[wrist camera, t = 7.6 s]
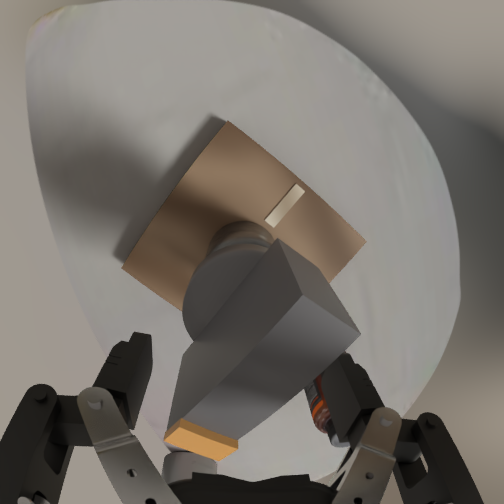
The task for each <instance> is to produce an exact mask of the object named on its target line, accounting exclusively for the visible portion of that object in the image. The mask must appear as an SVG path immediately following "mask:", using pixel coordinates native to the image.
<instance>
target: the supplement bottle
mask: <svg viewBox="0 0 504 504" xmlns="http://www.w3.org/2000/svg"><path fill="white" fill-rule="evenodd" d="M343 353H346V352H345V351H344V352H343ZM324 372H325V370H324V371H323V372H322V373H321V374H319V375H318V376H317V377H316V378H315V379H314V380H313V381H312V382H311V383H309V384H308V385H307V386H306V387H305V388H304V390H305V393H306V397H307V400H308V403H309V407H310V411H311V414H312V417H313V421H314V424H315V426H316V427H317V429H318V430H320V431H321V432H323V433H327V434H328V437H329V439H330V442H331V444H332V445H333V446H335V447H348V446H350V443H349V442H344V443H339V440H338V437H337V434H336V430H335V427H334V424H333V421H332V418H331V415H330V412H329V409H328V406H327V403H326V401H325V398H324V395H323V392H322V388H321V381H322V377H323V374H324Z"/></svg>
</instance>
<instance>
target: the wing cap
mask: <svg viewBox="0 0 504 504" xmlns="http://www.w3.org/2000/svg"><path fill="white" fill-rule="evenodd" d="M182 314H183V321H184V325H185V327H186V330H187V332H188V333H189V335H190V337H191V338H192V340H193V341H194V342H193V343H192V344H191V345H190V347H189V348H188V349H187V350H186V352H185V353H184V354H183V357H182V361H181V366H180V370H179V375H178V379H177V384H176V388H175V393H174V397H173V402H172V407H171V412H170V416H169V421H168V426H167V431H166V432H165V436H164V441H166V442H168V443H170V444H173V445H175V446H178V447H180V448H183V449H185V450H188V451H191V452H193V453H196V454H199V455H202V456H205V457H208V458H211V459H214V460H217V461H220V460H222V459H223V458H225V457H226V456H228V455H230V454H231V453H233V452H234V451H236V450H237V449H238V439H240V438H241V437H242V436H244V435H245V434H247V433H248V432H249V431H251V430H252V429H253V428H255V427H256V426H258V425H259V424H260V423H262V422H263V421H264V420H265V419H267V418H268V417H269V416H271V415H272V414H273V413H275V412H276V411H277V410H278V409H280V408H281V407H282V406H283V405H285V404H286V403H287V402H288V401H289V400H291V399H292V398H293V397H294V396H295V395H297V394H298V393H299V392H300V391H301V390H302V389H304V388H305V387H306V386H307V385H308V384H309V383H311V382H312V381H313V380H314V379H315V378H316V377H317V376H318V375H319V374H321V373H322V372H323V371H324V370H325V369H326V368H327V367H328V366H329V365H330V364H331V363H332V362H333V361H335V360H336V359H337V358H338V357H339V356H340V355H341V354H342V353H343V352H344V351H345V350H346V349H347V348H348V347H349V346H350V345H351V344H352V343H353V342H354V341H355V340H356V339H357V338H358V337H359V336H360V335H361V333H360V332H359V330H358V328H357V327H356V325H355V323H354V322H353V320H352V319H351V317H350V316H349V314H348V312H347V311H346V309H345V308H344V306H343V305H342V303H341V301H340V300H339V298H338V297H337V295H336V294H335V292H334V291H333V289H332V287H331V286H330V284H329V283H328V281H327V280H326V278H325V277H324V275H323V274H322V272H321V271H320V269H319V268H318V267H317V266H315V265H314V264H313V263H311V262H310V261H309V260H307V259H306V258H305V257H303V256H302V255H300V254H299V253H298V252H296V251H295V250H294V249H292V248H291V247H290V246H288V245H287V244H286V243H284V242H283V241H281V240H280V239H279V238H277V239H276V240H275V241H274V242H273V244H272V245H271V246H270V247H269V248H267V247H263V246H260V245H254V244H236V245H231V246H227V247H224V248H221V249H219V250H217V251H215V252H213V253H212V254H210V255H209V256H207V257H206V258H205V259H204V260H203V261H202V262H201V263H200V264H199V265H198V266H197V268H196V269H195V271H194V272H193V274H192V277H191V279H190V282H189V284H188V287H187V290H186V293H185V296H184V300H183V307H182Z"/></svg>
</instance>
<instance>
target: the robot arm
mask: <svg viewBox="0 0 504 504" xmlns="http://www.w3.org/2000/svg"><path fill="white" fill-rule="evenodd" d="M152 365H153V359H152V338H151V335H150V334H144V333H139V332H134V333H133V334H132V336H131V338H130V340H129V342H125V341H120V342H119V343H118V344H116V345H115V346H114V347H113V348H112V350H111V352H110V354H109V356H108V357H107V359H106V362H105V363H104V365H103V367H102V369H101V371H100V373H99V375H98V377H97V379H96V381H95V383H94V384H93V386H92V387H89V388H86V389H84V390H83V391H82V392H80V394H79V395H78V396H64V395H57V393H56V391H55V390H54V389H53V388H52V387H51V386H49V385H46V384H37V385H34V386H32V387H30V388H29V389H28V390H27V392H26V393H25V395H24V397H23V399H22V400H21V402H20V404H19V406H18V408H17V410H16V411H15V414H14V415H13V417H12V419H11V421H10V423H9V425H8V427H7V429H6V431H5V433H4V435H3V437H2V439H1V441H0V504H58V502H59V498H60V494H61V490H62V486H63V482H64V479H65V475H66V471H67V468H68V465H69V461H70V458H71V455H72V452H73V449H74V446H94V448H95V450H96V453H97V455H98V457H99V459H100V461H101V464H102V466H103V468H104V470H105V472H106V474H107V476H108V478H109V480H110V481H111V483H112V485H113V487H114V489H115V491H116V492H117V494H118V496H119V498H120V499H121V501H122V503H123V504H380V502H381V500H382V497H383V495H384V492H385V490H386V487H387V484H388V482H389V479H390V476H391V473H392V470H393V473H394V476H395V479H396V482H397V485H398V488H399V491H400V494H401V497H402V500H403V503H404V504H484V503H483V501H482V499H481V496H480V494H479V492H478V490H477V488H476V485H475V483H474V481H473V479H472V477H471V475H470V473H469V471H468V469H467V467H466V465H465V463H464V461H463V459H462V457H461V455H460V453H459V451H458V449H457V447H456V445H455V444H454V442H453V440H452V438H451V436H450V434H449V432H448V431H447V429H446V427H445V425H444V423H443V422H442V420H441V419H440V418H439V417H438V416H437V415H435V414H433V413H429V412H427V413H423V414H421V415H420V416H419V417H418V419H417V420H408V419H401V417H400V415H399V414H398V413H397V412H396V411H395V410H393V409H391V408H387V407H385V406H384V404H383V402H382V400H381V398H380V396H379V395H378V393H377V391H376V389H375V387H374V386H373V383H372V381H371V380H370V378H369V376H368V374H367V372H366V370H365V369H363V368H362V367H361V366H360V365H359V364H355V363H354V361H353V359H352V357H351V355H350V354H349V353H342V354H341V355H340V356H339V357H338V358H337V359H336V360H335V361H333V362H332V363H331V364H330V365H329V366H328V367H327V368H326V369H325V372H324V374H323V377H322V381H321V388H322V392H323V395H324V398H325V401H326V403H327V406H328V409H329V412H330V415H331V418H332V421H333V424H334V427H335V430H336V434H337V437H338V440H339V443H344V442H349V443H350V447H349V448H348V450H347V452H346V454H345V455H344V457H343V459H342V461H341V463H340V465H339V467H338V469H337V470H336V472H335V474H334V476H333V477H332V479H331V480H330V482H329V483H328V485H324V484H321V483H318V482H313V481H310V478H309V474H304V475H288V476H279V477H275V478H270V479H266V480H262V481H257V482H249V481H245V480H240V479H236V478H232V477H228V476H225V475H219V474H217V464H216V462H214V461H213V460H212V459H210V458H208V457H205V456H202V455H199V454H196V453H190V452H174V453H170V454H168V455H166V456H165V458H164V464H163V470H162V475H160V473H159V472H158V470H157V469H156V468H155V466H154V465H153V463H152V461H151V460H150V458H149V457H148V455H147V454H146V452H145V450H144V449H143V447H142V446H141V444H140V442H139V440H138V439H137V438H136V436H135V435H134V436H133V435H132V433H131V432H130V430H129V429H132V430H134V428H135V425H136V421H137V418H138V414H139V411H140V408H141V405H142V401H143V398H144V395H145V392H146V388H147V385H148V382H149V379H150V376H151V372H152ZM422 454H423V456H424V458H425V461H426V463H427V465H428V473H427V472H426V470H425V467H424V465H423V463H422V460H421V458H420V456H421V455H422Z"/></svg>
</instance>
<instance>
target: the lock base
mask: <svg viewBox="0 0 504 504" xmlns="http://www.w3.org/2000/svg"><path fill="white" fill-rule="evenodd" d="M277 238H279V239H280V240H281V241H283V242H284V243H286V244H287V245H288V246H290V247H291V248H292V249H294V250H295V251H296V252H298V253H299V254H300V255H302V256H303V257H305V258H306V259H307V260H309V261H310V262H311V263H313V264H314V265H315V266H317V267H318V268H319V269H320V271H321V272H322V274H323V275H324V277H325V278H326V280H327V281H328V283H330V282H331V281H332V280H333V279H334V277H335V276H336V275H337V274H338V273H339V272H340V271H341V270H342V269H343V268H344V267H345V265H346V264H347V263H348V262H349V261H350V260H351V259H352V258H353V257H354V255H355V254H356V253H357V252H358V251H359V250H360V249H361V247H362V246H363V245H364V244H365V243H366V242H367V241H366V240H365V239H364V238H363V237H362V236H361V235H360V234H359V233H358V232H357V231H356V230H354V229H353V228H352V227H351V226H350V225H349V224H348V223H347V222H346V221H345V220H344V219H343V218H342V217H341V216H340V215H339V214H338V213H337V212H336V211H335V210H334V209H333V208H331V207H330V206H329V205H328V204H327V203H326V202H325V201H324V200H323V199H322V198H321V197H320V196H318V195H317V194H316V193H315V192H314V191H313V190H312V189H311V188H310V187H308V186H307V185H306V184H305V183H304V182H303V181H302V180H300V179H299V178H298V177H297V176H296V175H295V174H294V173H292V172H291V171H290V170H289V169H288V168H287V167H285V166H284V165H283V164H282V163H281V162H279V161H278V160H277V159H276V158H275V157H273V156H272V155H271V154H270V153H269V152H267V151H266V150H265V149H264V148H262V147H261V146H260V145H259V144H257V143H256V142H255V141H254V140H252V139H251V138H250V137H249V136H247V135H246V134H245V133H244V132H242V131H241V130H240V129H238V128H237V127H236V126H234V125H233V124H232V123H231V122H229V121H227V122H226V123H225V125H224V126H223V127H222V128H221V129H220V131H219V132H218V133H217V134H216V135H215V137H214V138H213V139H212V140H211V141H210V143H209V144H208V145H207V146H206V148H205V149H204V150H203V151H202V153H201V154H200V155H199V156H198V158H197V159H196V160H195V162H194V163H193V164H192V166H191V167H190V168H189V169H188V171H187V172H186V173H185V175H184V176H183V177H182V179H181V180H180V181H179V183H178V184H177V185H176V187H175V188H174V190H173V191H172V192H171V194H170V195H169V197H168V198H167V199H166V201H165V202H164V204H163V205H162V206H161V208H160V209H159V211H158V212H157V214H156V215H155V217H154V218H153V219H152V221H151V222H150V224H149V225H148V227H147V228H146V230H145V231H144V233H143V234H142V236H141V238H140V239H139V241H138V242H137V244H136V245H135V247H134V248H133V250H132V252H131V253H130V255H129V256H128V258H127V260H126V261H125V263H124V264H123V266H122V269H123V270H125V271H126V272H127V273H129V274H130V275H131V276H133V277H134V278H135V279H137V280H138V281H139V282H141V283H142V284H143V285H145V286H146V287H148V288H149V289H150V290H152V291H153V292H155V293H156V294H157V295H159V296H160V297H162V298H163V299H165V300H166V301H167V302H169V303H170V304H172V305H173V306H175V307H176V308H178V309H179V310H181V311H182V307H183V300H184V296H185V293H186V290H187V287H188V284H189V282H190V279H191V277H192V274H193V272H194V271H195V269H196V268H197V266H198V265H199V264H200V263H201V262H202V261H203V260H204V259H205V258H206V257H207V256H209V255H210V254H212V253H213V252H215V251H217V250H219V249H221V248H224V247H227V246H231V245H236V244H254V245H260V246H263V247H267V248H269V247H270V246H271V245H272V244H273V242H274V241H275V240H276V239H277Z"/></svg>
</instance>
